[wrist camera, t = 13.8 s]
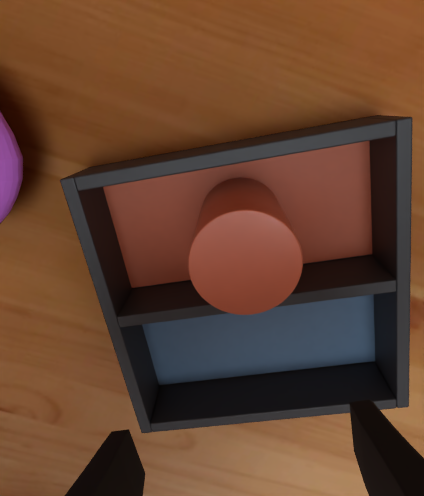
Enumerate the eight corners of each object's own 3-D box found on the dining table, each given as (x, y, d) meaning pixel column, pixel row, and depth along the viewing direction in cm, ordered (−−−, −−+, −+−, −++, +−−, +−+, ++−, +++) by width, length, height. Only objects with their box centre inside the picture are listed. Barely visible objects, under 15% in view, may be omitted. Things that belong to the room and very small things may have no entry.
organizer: (153, 388, 23) (141, 433, 20) (89, 167, 18) (59, 179, 15) (383, 363, 22) (409, 407, 18) (378, 114, 17) (413, 116, 14)
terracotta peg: (232, 268, 19) (233, 334, 14) (184, 210, 18) (163, 255, 13) (296, 224, 18) (325, 275, 13) (248, 160, 17) (258, 185, 12)
